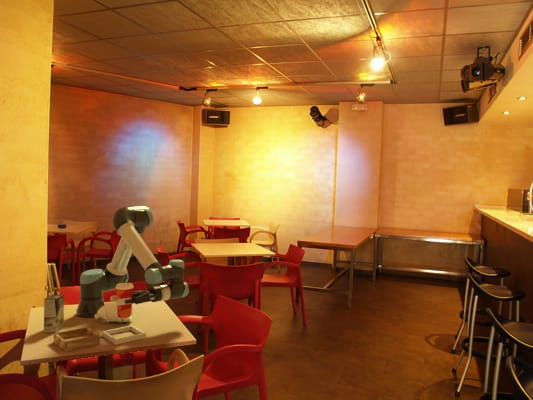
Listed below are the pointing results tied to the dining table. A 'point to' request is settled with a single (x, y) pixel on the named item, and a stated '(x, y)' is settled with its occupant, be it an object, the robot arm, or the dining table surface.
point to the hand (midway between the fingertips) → (114, 300)
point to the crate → (76, 338)
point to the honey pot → (112, 313)
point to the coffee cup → (123, 292)
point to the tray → (126, 339)
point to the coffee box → (53, 313)
